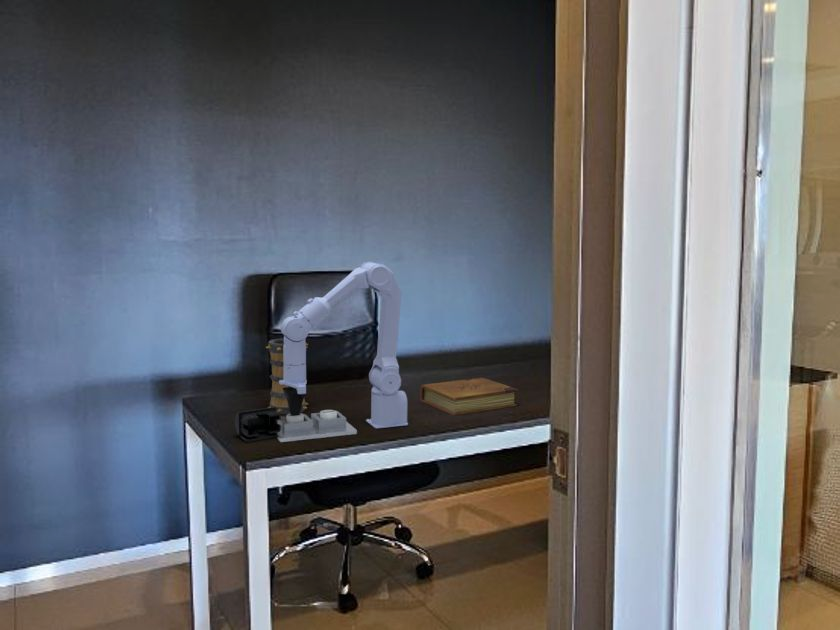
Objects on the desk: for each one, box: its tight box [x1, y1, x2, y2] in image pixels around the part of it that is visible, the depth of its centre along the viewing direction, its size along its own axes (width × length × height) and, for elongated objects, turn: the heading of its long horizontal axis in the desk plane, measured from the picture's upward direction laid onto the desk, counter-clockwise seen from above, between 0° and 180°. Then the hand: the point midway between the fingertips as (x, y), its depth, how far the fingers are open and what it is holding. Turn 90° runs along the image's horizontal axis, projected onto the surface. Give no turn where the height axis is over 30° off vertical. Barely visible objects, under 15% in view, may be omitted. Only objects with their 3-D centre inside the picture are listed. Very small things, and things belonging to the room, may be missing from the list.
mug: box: [265, 337, 309, 415], centre depth 214 cm, size 13×17×20 cm
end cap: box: [234, 406, 282, 443], centre depth 187 cm, size 10×7×7 cm
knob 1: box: [285, 412, 305, 423], centre depth 191 cm, size 4×4×4 cm
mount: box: [275, 410, 358, 443], centre depth 193 cm, size 20×14×4 cm
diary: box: [419, 377, 519, 416], centre depth 224 cm, size 23×19×6 cm
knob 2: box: [319, 409, 338, 419], centre depth 195 cm, size 4×4×4 cm
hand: (294, 414), depth 191 cm, fingers closed, pressing on knob 1
